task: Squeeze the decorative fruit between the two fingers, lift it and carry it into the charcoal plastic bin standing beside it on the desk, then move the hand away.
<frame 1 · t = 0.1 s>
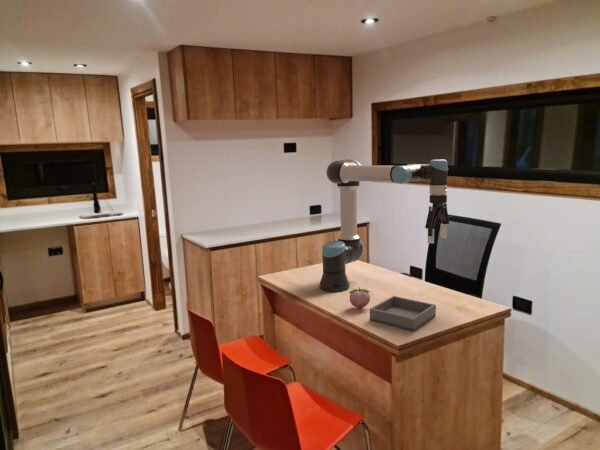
hand: (437, 240, 208), 28 cm above the countertop, tool pointing down, fingers open, 13 cm apart
decorative fruit: (359, 308, 204), on the countertop
bin: (402, 318, 191), on the countertop
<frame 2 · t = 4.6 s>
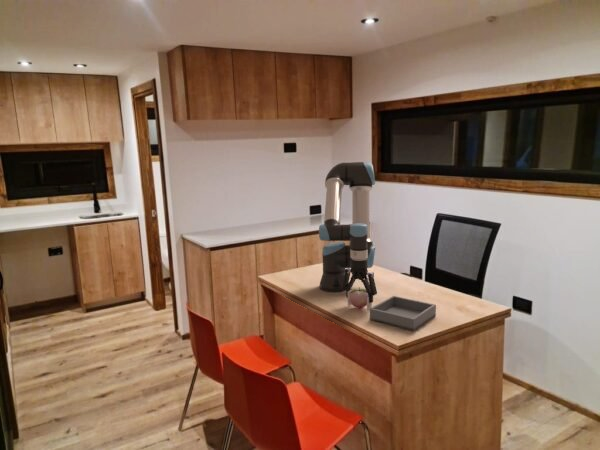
hand: (359, 307, 203), 1 cm above the countertop, tool pointing down, fingers open, 9 cm apart
decorative fruit: (359, 308, 204), on the countertop, touching gripper
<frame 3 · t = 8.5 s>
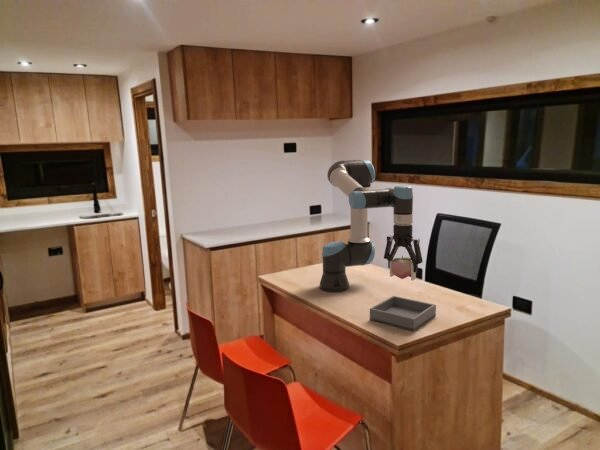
hand: (402, 277, 188), 18 cm above the countertop, tool pointing down, fingers closed on decorative fruit, 9 cm apart
decorative fruit: (401, 279, 188), point 17 cm above the countertop, touching gripper
when the fingers open (4 cm above the countertop, at t = 11.9 s): decorative fruit drops 3 cm, resting on bin.
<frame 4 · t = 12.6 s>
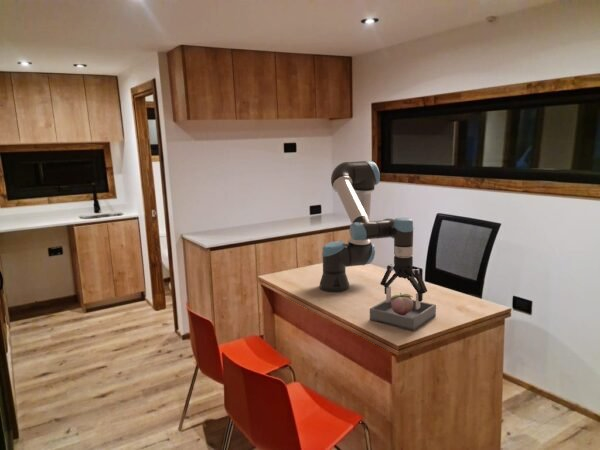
hand: (403, 305, 190), 6 cm above the countertop, tool pointing down, fingers open, 13 cm apart
decorative fruit: (402, 315, 191), point 1 cm above the countertop, touching bin
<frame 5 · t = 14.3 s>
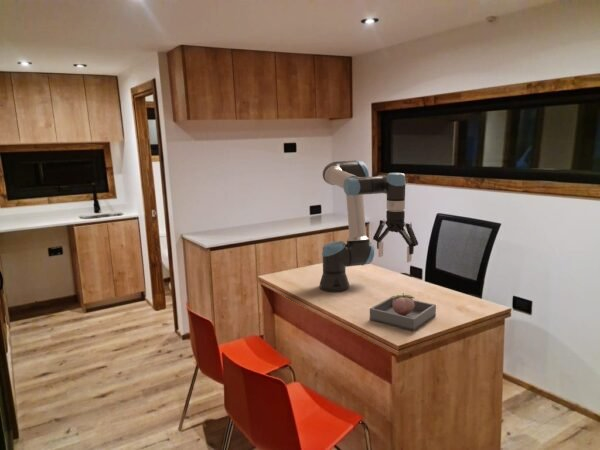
hand: (394, 258, 195), 24 cm above the countertop, tool pointing down, fingers open, 13 cm apart
nothing on the countertop moved.
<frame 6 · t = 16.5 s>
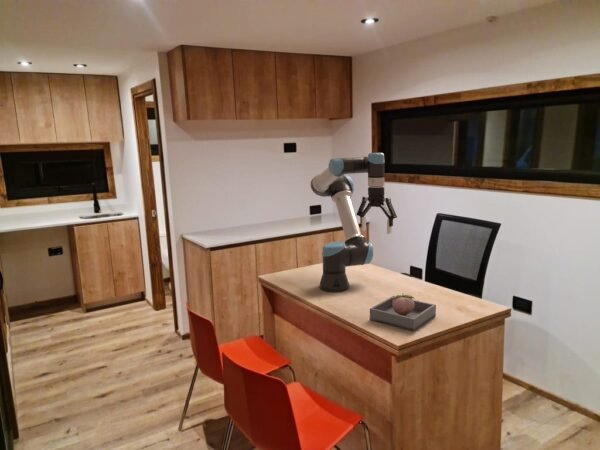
hand: (376, 232, 213), 32 cm above the countertop, tool pointing down, fingers open, 13 cm apart
nothing on the countertop moved.
at the end: decorative fruit inside the target area on the bin (0.2 cm from its centre), point 0.8 cm above the bin's base; the gripper is holding nothing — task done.
